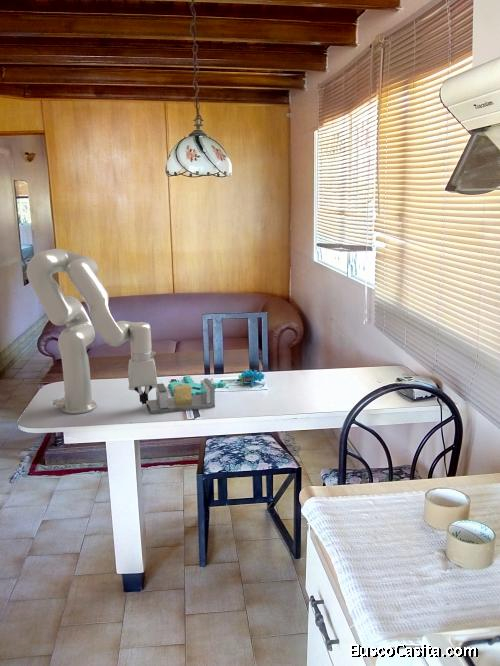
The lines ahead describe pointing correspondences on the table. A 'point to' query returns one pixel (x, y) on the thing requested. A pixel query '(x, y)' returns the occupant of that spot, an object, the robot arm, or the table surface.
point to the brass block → (182, 394)
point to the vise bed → (197, 403)
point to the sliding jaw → (162, 396)
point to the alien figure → (193, 385)
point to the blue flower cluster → (251, 376)
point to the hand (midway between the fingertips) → (144, 403)
